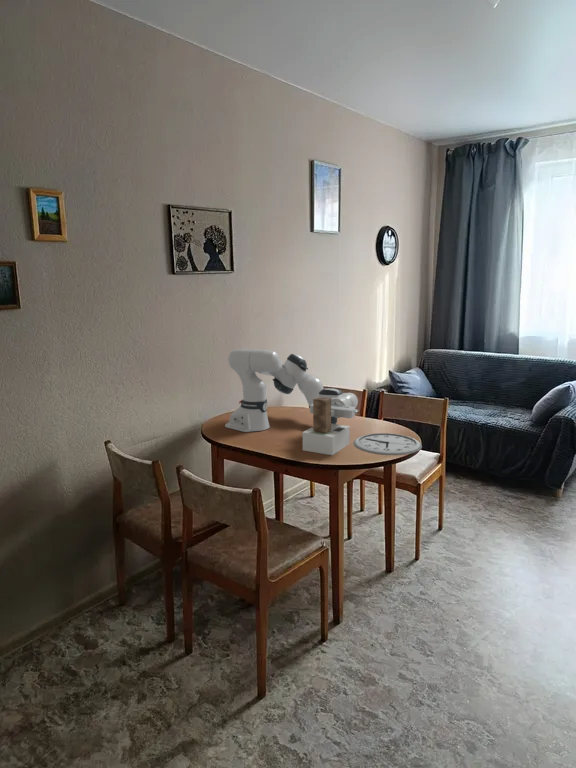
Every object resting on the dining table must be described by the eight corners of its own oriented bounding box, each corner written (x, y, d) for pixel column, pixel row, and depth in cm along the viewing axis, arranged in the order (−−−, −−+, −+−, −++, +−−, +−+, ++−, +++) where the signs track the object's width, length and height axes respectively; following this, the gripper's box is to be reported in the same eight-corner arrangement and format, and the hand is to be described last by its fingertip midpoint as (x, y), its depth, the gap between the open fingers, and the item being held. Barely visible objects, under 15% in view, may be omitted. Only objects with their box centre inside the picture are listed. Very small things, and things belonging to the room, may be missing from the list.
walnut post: (313, 431, 227) (313, 399, 224) (318, 428, 231) (318, 396, 228) (326, 433, 224) (326, 400, 221) (331, 430, 228) (331, 398, 225)
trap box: (302, 450, 229) (302, 432, 227) (321, 439, 244) (321, 421, 242) (332, 455, 222) (332, 436, 220) (349, 443, 237) (349, 425, 235)
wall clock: (436, 447, 227) (374, 456, 217) (436, 451, 227) (374, 460, 217) (398, 428, 254) (341, 436, 244) (398, 432, 255) (341, 439, 244)
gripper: (359, 417, 236) (347, 424, 224) (318, 411, 245) (304, 418, 234) (360, 403, 234) (347, 410, 223) (318, 398, 244) (304, 404, 232)
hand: (324, 414), depth 228 cm, fingers closed, pressing on walnut post
